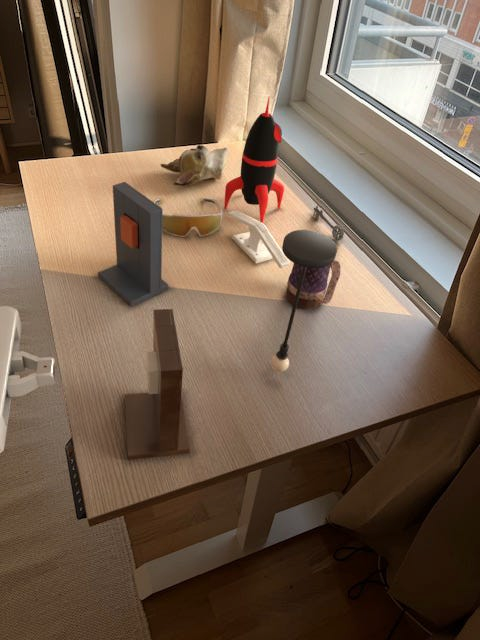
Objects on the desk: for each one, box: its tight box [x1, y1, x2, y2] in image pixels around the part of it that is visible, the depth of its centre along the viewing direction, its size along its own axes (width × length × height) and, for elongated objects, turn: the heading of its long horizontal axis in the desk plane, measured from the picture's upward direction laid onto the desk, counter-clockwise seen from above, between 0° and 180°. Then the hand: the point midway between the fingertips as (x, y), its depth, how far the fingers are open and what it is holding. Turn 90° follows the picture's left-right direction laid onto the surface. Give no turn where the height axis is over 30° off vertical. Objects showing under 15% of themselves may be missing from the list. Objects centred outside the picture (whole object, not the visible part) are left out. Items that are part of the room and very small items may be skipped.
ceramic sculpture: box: [160, 144, 229, 188], centre depth 120 cm, size 11×9×15 cm
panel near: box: [124, 308, 191, 461], centre depth 66 cm, size 8×10×17 cm
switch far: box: [120, 215, 138, 249], centre depth 85 cm, size 1×3×4 cm, turn 44°
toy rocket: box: [223, 97, 285, 224], centre depth 108 cm, size 10×10×25 cm
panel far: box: [97, 181, 169, 307], centre depth 87 cm, size 8×10×17 cm
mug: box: [285, 259, 342, 310], centre depth 90 cm, size 10×7×12 cm
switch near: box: [146, 350, 158, 394], centre depth 64 cm, size 1×3×4 cm, turn 12°
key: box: [312, 205, 345, 242], centre depth 112 cm, size 12×1×3 cm, turn 24°
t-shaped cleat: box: [227, 209, 291, 269], centre depth 103 cm, size 4×20×5 cm, turn 31°
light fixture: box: [271, 229, 338, 373], centre depth 72 cm, size 7×7×25 cm
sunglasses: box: [153, 198, 223, 238], centre depth 109 cm, size 14×15×5 cm
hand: (54, 371), depth 60 cm, fingers closed
